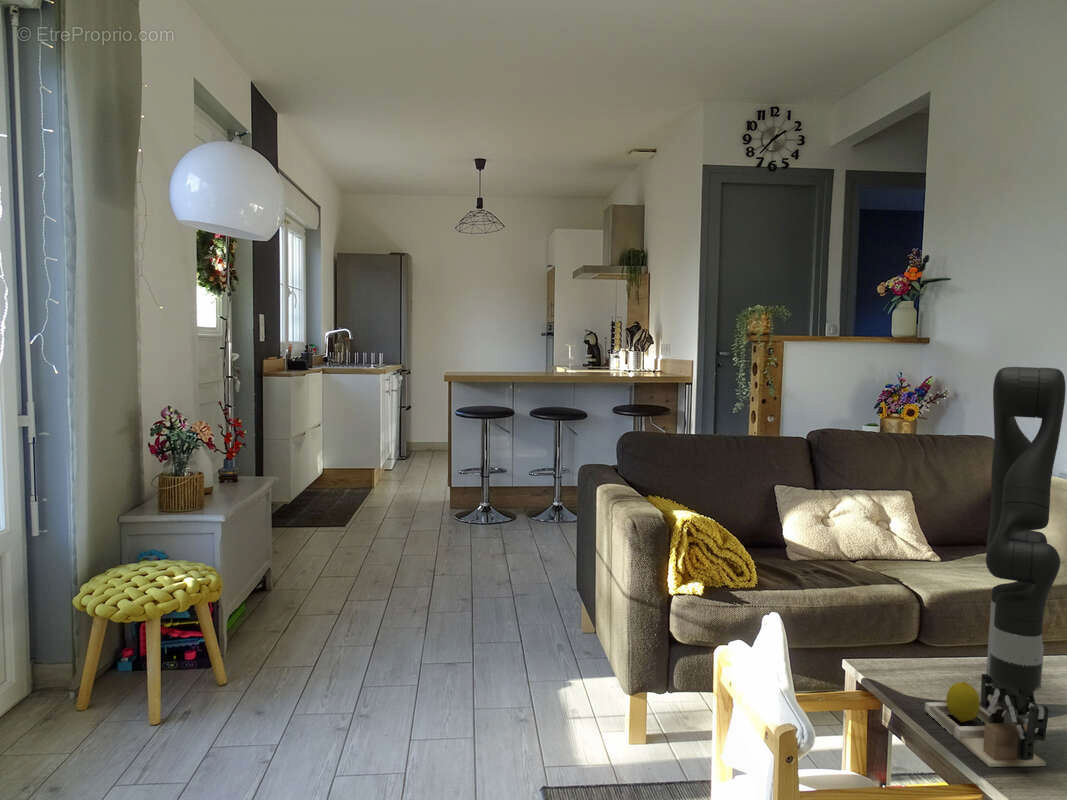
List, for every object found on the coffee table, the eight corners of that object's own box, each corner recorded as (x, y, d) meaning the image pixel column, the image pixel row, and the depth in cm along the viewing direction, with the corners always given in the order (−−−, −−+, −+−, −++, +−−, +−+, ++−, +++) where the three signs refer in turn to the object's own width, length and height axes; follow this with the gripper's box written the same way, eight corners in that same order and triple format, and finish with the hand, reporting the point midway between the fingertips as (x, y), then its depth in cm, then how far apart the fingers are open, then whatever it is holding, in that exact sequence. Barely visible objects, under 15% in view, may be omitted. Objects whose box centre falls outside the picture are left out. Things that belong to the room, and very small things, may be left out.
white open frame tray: (973, 711, 152) (975, 684, 151) (1045, 765, 132) (1047, 734, 132) (924, 712, 151) (926, 684, 151) (989, 766, 132) (991, 735, 131)
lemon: (982, 731, 144) (985, 689, 144) (950, 727, 145) (953, 686, 145) (972, 717, 150) (974, 677, 149) (941, 713, 151) (943, 674, 150)
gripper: (1068, 672, 126) (1060, 770, 127) (1008, 638, 140) (1002, 727, 142) (1024, 672, 126) (1017, 771, 127) (968, 638, 140) (963, 727, 141)
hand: (1009, 747), depth 134 cm, fingers open, 6 cm apart
